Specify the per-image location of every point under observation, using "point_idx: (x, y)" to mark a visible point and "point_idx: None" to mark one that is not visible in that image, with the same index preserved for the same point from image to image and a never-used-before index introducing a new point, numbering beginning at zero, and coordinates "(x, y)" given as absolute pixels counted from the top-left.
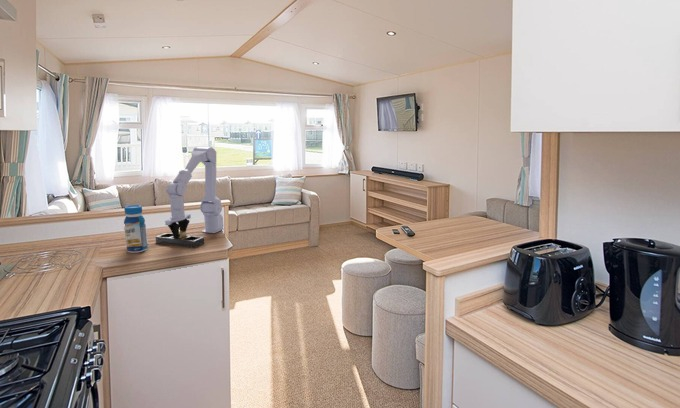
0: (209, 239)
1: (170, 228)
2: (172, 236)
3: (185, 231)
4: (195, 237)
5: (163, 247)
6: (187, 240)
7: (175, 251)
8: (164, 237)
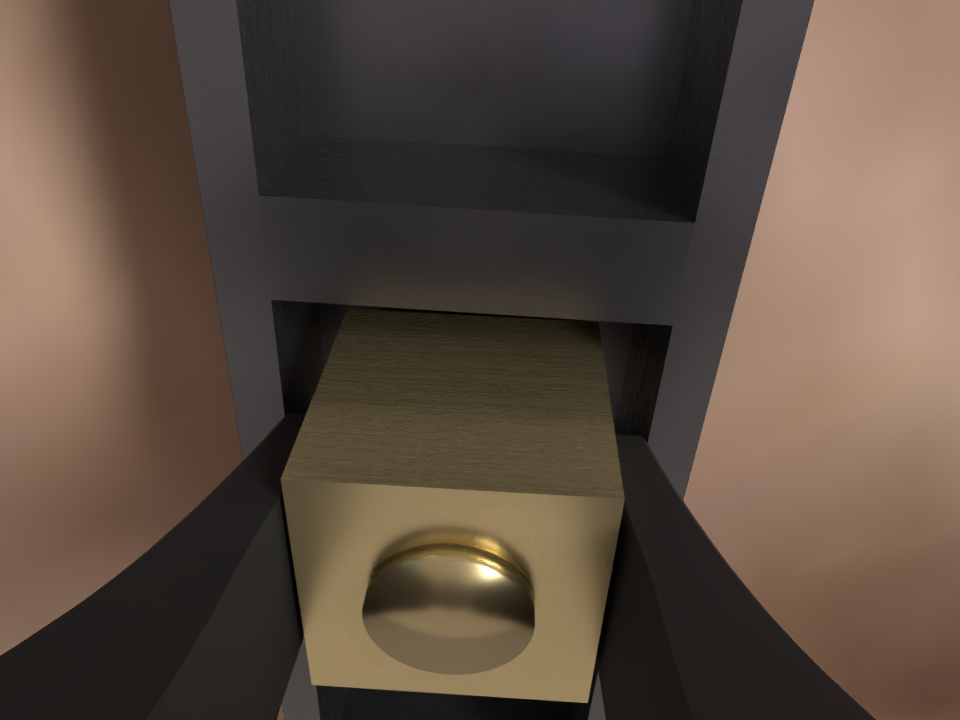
0: (844, 683)
1: (29, 666)
2: (427, 247)
3: (556, 698)
4: (584, 709)
5: (21, 206)
6: (293, 714)
7: (17, 558)
8: (201, 48)
